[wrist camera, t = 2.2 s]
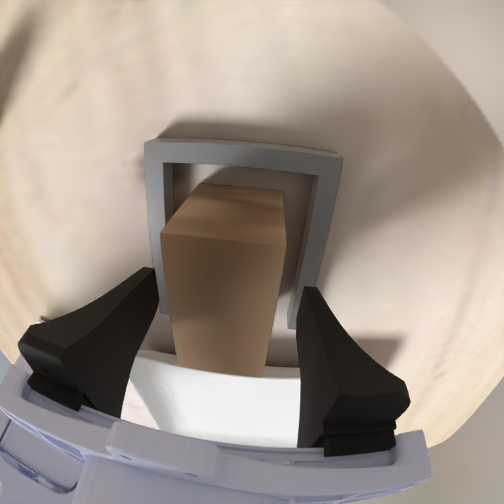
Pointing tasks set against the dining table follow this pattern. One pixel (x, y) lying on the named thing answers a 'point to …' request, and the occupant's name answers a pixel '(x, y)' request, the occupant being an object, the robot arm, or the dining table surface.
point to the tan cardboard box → (224, 276)
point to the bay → (245, 155)
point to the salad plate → (219, 402)
